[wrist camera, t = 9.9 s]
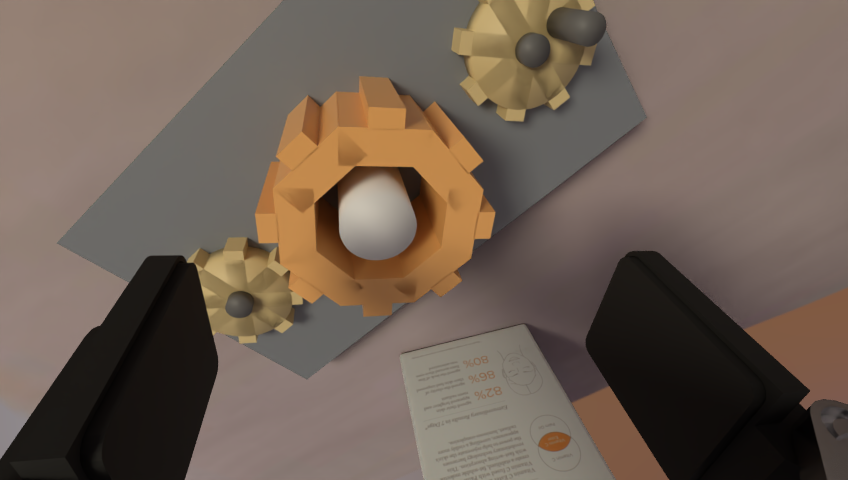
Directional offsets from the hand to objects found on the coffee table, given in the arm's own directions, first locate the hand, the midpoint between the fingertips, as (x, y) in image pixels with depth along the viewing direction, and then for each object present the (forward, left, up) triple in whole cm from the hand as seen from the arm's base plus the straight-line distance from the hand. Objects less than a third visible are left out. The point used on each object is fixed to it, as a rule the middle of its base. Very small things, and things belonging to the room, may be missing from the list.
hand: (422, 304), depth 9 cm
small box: (+6, +14, -10) cm, 19 cm away
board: (+1, 0, -10) cm, 10 cm away
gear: (+1, 0, -8) cm, 8 cm away
